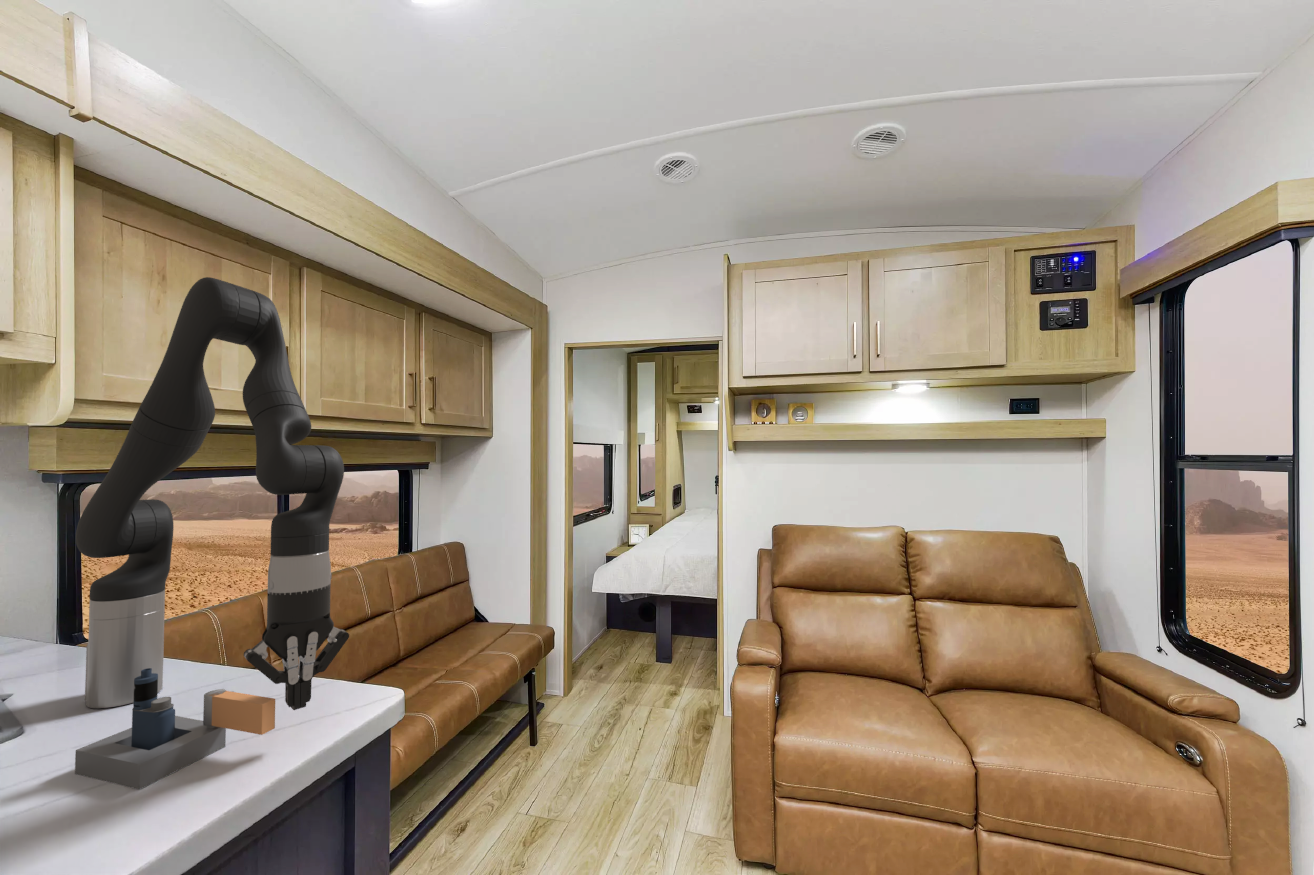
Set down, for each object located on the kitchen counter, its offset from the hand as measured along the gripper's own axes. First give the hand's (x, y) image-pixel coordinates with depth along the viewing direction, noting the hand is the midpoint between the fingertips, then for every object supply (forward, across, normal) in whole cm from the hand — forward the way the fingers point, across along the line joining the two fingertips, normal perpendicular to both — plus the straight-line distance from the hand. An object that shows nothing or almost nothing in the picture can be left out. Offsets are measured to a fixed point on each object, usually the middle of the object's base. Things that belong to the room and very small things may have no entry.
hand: (297, 707), depth 76 cm
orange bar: (+2, +6, -4) cm, 7 cm away
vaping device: (+5, +14, -9) cm, 18 cm away
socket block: (+5, +14, -10) cm, 18 cm away
